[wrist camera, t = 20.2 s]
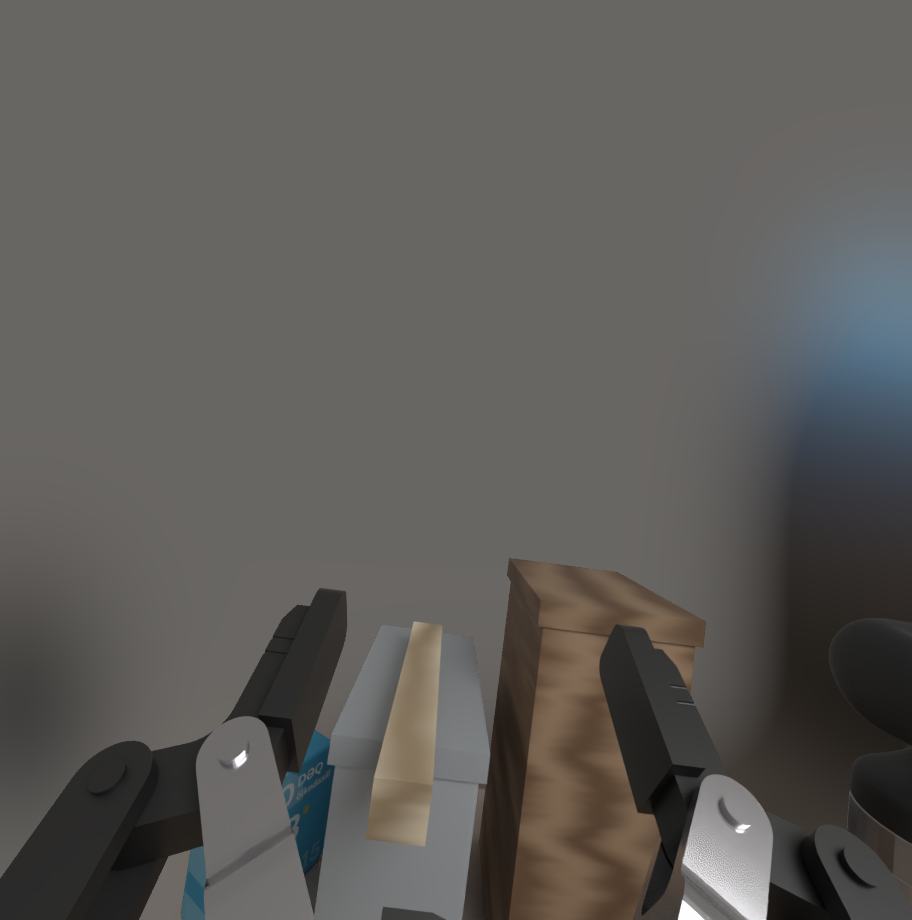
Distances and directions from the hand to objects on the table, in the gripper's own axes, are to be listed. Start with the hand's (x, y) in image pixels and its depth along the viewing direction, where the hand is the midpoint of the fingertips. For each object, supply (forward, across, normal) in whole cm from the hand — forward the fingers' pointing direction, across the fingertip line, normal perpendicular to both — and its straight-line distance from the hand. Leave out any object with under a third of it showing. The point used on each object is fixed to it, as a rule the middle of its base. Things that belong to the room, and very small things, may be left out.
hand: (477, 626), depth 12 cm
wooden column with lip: (+5, +13, -45) cm, 47 cm away
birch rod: (+10, -2, -22) cm, 24 cm away
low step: (+4, -2, -45) cm, 45 cm away
